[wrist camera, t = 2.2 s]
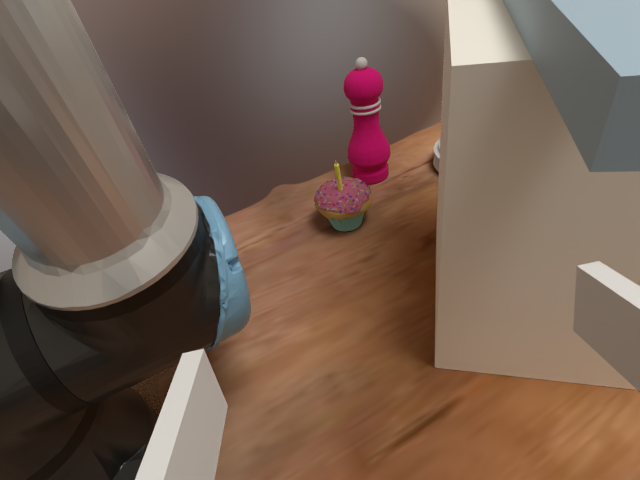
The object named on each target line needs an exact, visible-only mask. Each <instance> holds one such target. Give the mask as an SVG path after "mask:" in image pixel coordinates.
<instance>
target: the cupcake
mask: <svg viewBox="0 0 640 480" xmlns="http://www.w3.org/2000/svg"><path fill="white" fill-rule="evenodd" d="M335 163H336V164H334V167H335V173H336V178H335V179H330V180H329V181H327V182H326V183H324V185H322V186H321V187H320V188H318V191H317V192H316V195H315V196H314V201H315V206H316V208H317V210H318V211H319V212H320V213H321V214H322V215H323V216H324V217H326V218H328V219H329V221H330V223H331V224H332V226H333V227H334V228H335V229H336V230H339V231H351V230H354V229H356V228H358V227H359V226H360V225H361V223H362V220H363V216H364V213H365V211H366V210H367V209H368V208H369V206H370V205H371V202H372V197H371V190H370V187H368V185H366V184H365V183H364V182H363V181H361V180H360V179H358V178H352V177H345V176H343V177H341V174H340V168H339V164H338V163H337V161H336V160H335Z"/></svg>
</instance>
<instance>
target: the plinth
mask: <svg viewBox="0 0 640 480" xmlns="http://www.w3.org/2000/svg"><path fill="white" fill-rule="evenodd" d="M444 46H445V47H444V68H443V91H442V114H441V136H440V159H439V181H438V204H437V227H436V296H435V368H442V369H452V370H461V371H470V372H479V373H488V374H497V375H506V376H515V377H524V378H533V379H542V380H551V381H560V382H569V383H578V384H587V385H596V386H605V387H614V388H623V389H632V390H637V389H636V388H635V387H634V386H633V385H631V384H630V383H629V382H628V381H627V380H626V379H625V378H624V377H623V376H622V375H621V374H620V373H618V372H617V371H616V370H615V369H614V368H613V367H612V366H611V365H610V364H609V363H608V362H607V361H605V360H604V359H603V358H602V357H601V356H600V355H599V354H598V353H597V352H596V351H595V350H594V349H593V348H591V347H590V346H589V345H588V344H587V343H586V342H585V341H584V340H583V339H582V338H581V337H580V336H578V335H577V334H576V333H575V332H574V331H573V323H574V305H575V287H576V270H577V266H578V265H583V264H587V263H592V262H596V261H600V262H602V263H603V264H605V265H606V266H608V267H610V268H611V269H613V270H614V271H616V272H618V273H619V274H621V275H622V276H624V277H626V278H627V279H629V280H630V281H632V282H634V283H635V284H637V285H638V286H640V171H629V172H589V170H588V168H587V166H586V164H585V162H584V160H583V158H582V156H581V154H580V152H579V150H578V148H577V146H576V144H575V142H574V140H573V138H572V136H571V134H570V132H569V130H568V128H567V126H566V124H565V122H564V120H563V119H562V117H561V115H560V113H559V111H558V109H557V107H556V105H555V103H554V101H553V99H552V97H551V95H550V93H549V91H548V89H547V87H546V85H545V83H544V81H543V79H542V77H541V75H540V73H539V71H538V69H537V68H536V66H535V64H534V62H533V60H532V58H531V56H530V54H529V52H528V50H527V48H526V46H525V44H524V42H523V40H522V38H521V36H520V34H519V32H518V30H517V28H516V26H515V24H514V22H513V20H512V18H511V16H510V15H509V13H508V11H507V9H506V7H505V5H504V3H503V1H502V0H446V23H445V45H444Z"/></svg>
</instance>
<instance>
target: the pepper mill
mask: <svg viewBox="0 0 640 480" xmlns="http://www.w3.org/2000/svg"><path fill="white" fill-rule="evenodd" d="M355 65H356V69H354V70H352V71H351V72H350V73H349V74H348V75H347V76H346V78H345V81H344V92H345V95H346V96H347V98H348V99H349V100H350V102H349V106H350V109H349V111H350V112H351V113H352V114H353V118H354V130H353V133H352V137H351V140H350V143H349V147H348V159H349V161H350V163H351V164H352V165H353V168H352V171H353V178H358V179H360V180H361V181H363V182H364V183H365V184H375V183H379V182H381V181H383V180H384V179H386V178H387V176H388V164H387V161H388V159H389V157H390V146H389V143H388V141H387V139H386V137H385V135H384V134H383V132H382V130H381V127H380V125H379V117H378V115H379V114H378V113H379V110H380V109H381V104H380V102H381V99H380V98H379V96H380V94H381V92H382V90H383V80H382V77H381V75H380V73H379V72H378V71H377V70H375V69H373V68H370V67H367V60H366V59H365V58H364V57H360V58H358V59H357V60H356V63H355Z"/></svg>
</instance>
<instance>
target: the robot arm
mask: <svg viewBox="0 0 640 480" xmlns="http://www.w3.org/2000/svg"><path fill="white" fill-rule="evenodd" d="M0 230H1V231H2V232H3V233H4V234H5V235H6V236H7V237H8V238H9V239H10V240H11V241H12V242H13V243H14V244H15V245H16V248H15V250H14V254H13V259H12V269H9V270H7V271H4V272H1V273H0V480H214V479H215V473H216V468H217V463H218V457H219V452H220V446H221V441H222V435H223V430H224V424H225V419H226V414H227V408H228V405H227V403H226V400H225V398H224V395H223V393H222V391H221V388H220V386H219V384H218V381H217V379H216V376H215V374H214V372H213V369H212V367H211V365H210V362H209V360H208V357H207V355H206V353H205V351H209V350H212V349H214V348H216V347H217V346H218V344H219V343H220V342H222V341H224V340H225V339H227V338H229V337H231V336H233V335H234V334H236V333H238V332H240V331H241V330H242V329H243V328H244V327H245V326H246V325H247V323H248V321H249V318H250V313H251V303H250V295H249V290H248V286H247V281H246V278H245V274H244V271H243V268H242V266H241V264H240V263H239V257H238V253H237V249H236V245H235V243H234V240H233V237H232V235H231V232H230V230H229V227H228V225H227V223H226V221H225V219H224V217H223V215H222V213H221V211H220V209H219V208H218V206H217V204H216V203H215V202H214V201H213V199H211V198H210V197H207V196H201V197H196V196H192V194H191V192H190V191H189V190H188V189H187V188H186V187H185V186H184V185H183V184H182V183H181V182H179V181H177V180H175V179H174V178H171V177H168V176H166V175H163V174H159V173H156V172H155V170H154V168H153V166H152V164H151V162H150V159H149V158H148V156H147V153H146V152H145V150H144V148H143V145H142V143H141V141H140V139H139V137H138V135H137V133H136V131H135V129H134V127H133V125H132V123H131V121H130V119H129V117H128V115H127V113H126V111H125V109H124V107H123V105H122V103H121V101H120V99H119V97H118V95H117V93H116V91H115V89H114V87H113V85H112V83H111V81H110V79H109V77H108V75H107V73H106V71H105V69H104V67H103V65H102V63H101V61H100V59H99V57H98V55H97V53H96V51H95V49H94V47H93V45H92V43H91V41H90V39H89V37H88V35H87V33H86V31H85V29H84V27H83V25H82V23H81V21H80V19H79V17H78V15H77V12H76V11H75V8H74V7H73V5H72V3H71V0H0ZM573 331H574V332H575V333H576V334H577V335H578V336H580V337H581V338H582V339H583V340H584V341H585V342H586V343H587V344H588V345H589V346H590V347H591V348H593V349H594V350H595V351H596V352H597V353H598V354H599V355H600V356H601V357H602V358H603V359H604V360H605V361H607V362H608V363H609V364H610V365H611V366H612V367H613V368H614V369H615V370H616V371H617V372H618V373H620V374H621V375H622V376H623V377H624V378H625V379H626V380H627V381H628V382H629V383H630V384H631V385H633V386H634V387H635V388H636V389H637V390H638V391H639V392H640V286H638V285H637V284H635V283H634V282H632V281H630V280H629V279H627V278H626V277H624V276H622V275H621V274H619V273H618V272H616V271H614V270H613V269H611V268H610V267H608V266H606V265H605V264H603V263H602V262H600V261H596V262H592V263H587V264H583V265H578V266H577V270H576V287H575V305H574V323H573ZM178 363H179V364H178ZM176 364H178V367H177V369H176V372H175V375H174V377H173V380H172V383H171V385H170V388H169V391H168V393H167V396H166V399H165V401H164V404H163V407H162V409H161V412H160V414H159V417H158V418H157V415H156V413H155V411H154V410H153V408H152V407H151V406H150V405H149V404H148V402H147V401H146V400H145V399H144V398H143V397H142V396H141V395H140V394H139V393H138V392H136V391H135V390H133V389H131V388H129V387H131V386H133V385H135V384H137V383H139V382H141V381H143V380H145V379H147V378H149V377H151V376H153V375H155V374H157V373H159V372H161V371H163V370H165V369H167V368H170V367H172V366H174V365H176Z"/></svg>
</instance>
